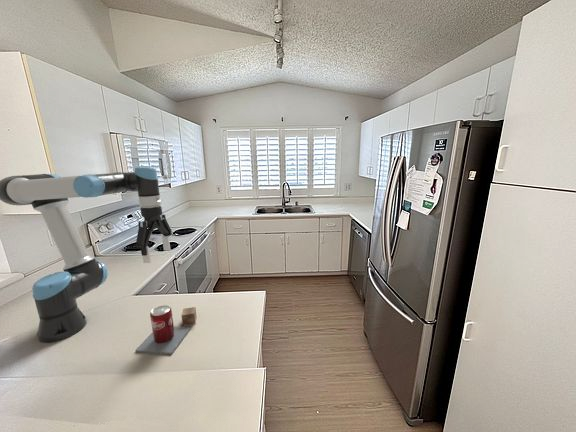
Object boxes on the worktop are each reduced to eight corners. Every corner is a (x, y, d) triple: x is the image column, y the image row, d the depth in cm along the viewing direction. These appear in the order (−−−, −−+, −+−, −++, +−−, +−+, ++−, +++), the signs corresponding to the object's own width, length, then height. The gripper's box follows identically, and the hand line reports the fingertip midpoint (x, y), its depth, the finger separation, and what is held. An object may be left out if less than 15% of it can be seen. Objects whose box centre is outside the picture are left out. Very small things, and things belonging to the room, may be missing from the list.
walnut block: (182, 325, 106) (181, 315, 105) (184, 318, 111) (183, 308, 109) (195, 323, 107) (194, 313, 106) (196, 317, 112) (195, 306, 111)
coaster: (135, 352, 92) (135, 350, 91) (158, 327, 105) (158, 325, 105) (171, 354, 90) (171, 352, 90) (190, 329, 104) (190, 327, 103)
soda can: (169, 329, 102) (165, 302, 100) (178, 336, 98) (174, 309, 95) (150, 339, 97) (146, 311, 94) (159, 347, 92) (155, 318, 90)
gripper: (138, 212, 89) (146, 268, 93) (176, 201, 113) (181, 246, 117) (118, 212, 89) (127, 268, 94) (160, 201, 114) (166, 245, 118)
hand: (157, 256), depth 106 cm, fingers open, 13 cm apart
